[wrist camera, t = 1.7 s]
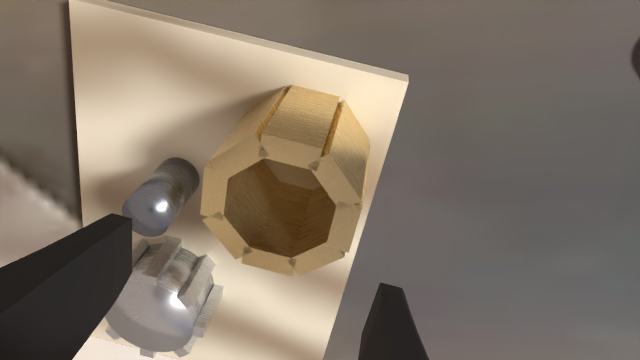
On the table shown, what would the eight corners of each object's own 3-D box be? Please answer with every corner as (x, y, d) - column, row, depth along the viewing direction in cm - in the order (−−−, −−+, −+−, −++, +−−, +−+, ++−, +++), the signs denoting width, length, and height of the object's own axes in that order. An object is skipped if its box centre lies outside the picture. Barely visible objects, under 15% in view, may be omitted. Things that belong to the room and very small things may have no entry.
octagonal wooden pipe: (350, 215, 22) (337, 288, 18) (236, 186, 22) (196, 251, 18) (381, 106, 19) (375, 162, 15) (251, 74, 20) (208, 119, 15)
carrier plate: (314, 381, 30) (311, 395, 29) (98, 323, 30) (89, 335, 29) (408, 74, 20) (408, 82, 19) (82, -6, 20) (68, -2, 19)
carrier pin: (205, 188, 24) (167, 242, 20) (167, 178, 24) (121, 230, 20) (208, 153, 23) (169, 203, 19) (168, 143, 23) (121, 190, 19)
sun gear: (218, 326, 27) (198, 370, 25) (123, 301, 27) (94, 342, 25) (228, 251, 24) (207, 291, 22) (123, 223, 25) (90, 260, 22)
